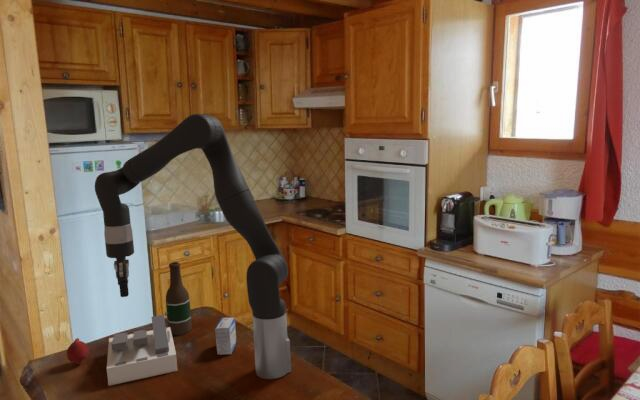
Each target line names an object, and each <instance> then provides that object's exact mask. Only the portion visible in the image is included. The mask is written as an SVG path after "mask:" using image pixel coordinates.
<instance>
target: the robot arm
mask: <svg viewBox="0 0 640 400" xmlns="http://www.w3.org/2000/svg"><path fill="white" fill-rule="evenodd" d="M196 149H197V150H198V149H199V150H200V149H201V150H202V152H203V154H204V155H205V157H206V159H207V161H208V163H209V166H210V168H211V171H212V172H211V173H212V177H213V179H212V180H213V190H214V195H215V199H216V201H217V203H218V206H219V208H220V210H221V212H222V214H223V216H224V218H225V220H226V221H227V223H229V225H230V226H231V227H232V228H233V229H234V230H235V231H236V232H237V233H238V234H239V235H240V236H241V237H242V238H243V239H244V240H245V241H246V242H247V244H248V246H249V247H250V250H251V251H252V254H253V257H254V261H252V262H251V263H250V264H249V266H248V267H247V269H246V288H247V298H248V299H247V300H248V304H249V306H250V308H251V313H252V328H253V345H254V347H253V348H254V363H255V364H254V365H255V374H256V375H257V377H259V378H260V379H264V380H276V379H280V378H282V377H284V376H285V375H287V374H289V373H292V361H291V341H290V339H289V337H288V325H287V323H288V322H287V305H286V302H285V300H284V299H282V298H280V297H281V295H280V287H279V286H280V285H281V284H282V283H284V282H285V281H286V279H287V277H288V274H289V266H288V263H287V260H286V258H285V257H284V255H283V253H282V251H281V250H280V248H279V247H278V245H277V242H275V240H274V238H273V237H272V234H271V233H270V231H269V229H268V227H267V224H266V221H265V219H264V218H263V216H262V213H261V212H260V210H259V207H258V205H257V203H256V200H255V198H254V196H253V194H252V191H251V189H250V187H249V186H248V185H249V184H247V182H246V180H245V177H244V175H243V173H242V171H241V169H240V167H239V165H238V162H237V161H236V158H235V156H234V155H233V152H232V149H231V146H230V144H229V141H228V137H227V135H226V132H225V129H224V127H223V124H222V123H221V121H220V120H219V119H218V118H217V117H215V116H213V115H209V114H203V113H192V114H190V115H188V116H187V117H185V118H184V119H183V120H182V121H181V122H180V123H179V124H177V126H175V127H174V128H173V129H172V130H171V131H170V132H169V133H167V134H166V135H165V136H164V137H162V138H161V139H160V140H159V141H156V142H155V143H154V144H152V145H151V146H149V147H147V148H146V149H144V150H142V151H141V152H139V153H138V154H136V155H134V156H132V157H130V159H128V160H126V161H125V162H124V163H123V165H122V167H120V168H119V169H117V170H113V171H105V172H102V173H100V174H98V176H96V179H95V182H94V192H95V195H96V198H97V200H98V203H99V205H100V207H101V210H102V215H103V225H104V229H103V231H104V233H103V234H104V241H105V245H104V246H105V254H106V257H107V258H110V259H115V260H114V263H113V268H114V270H115V271H114V272H115V278H116V279H117V285H118V286H119V294H120V297H121V298H126V297H129V293H130V292H129V285H128V284H129V279H128V278H130V277H129V276H130V274H129V273H130V271H129V270H130V269H129V268H130V259H126V258H127V257H131V256H132V255H133V254H134V253H135V247H134V237H133V236H134V235H133V228H132V222H131V215H130V214H131V213H130V209H129V208H130V207H129V206H128V205H127V204H126V203H122V202H121V199H120V195H124V194H126V193H128V192H130V191H131V190H133V189H134V188H136V187H137V186H138V185H139V184H140V183H141V182H144V181H145V180H147V179H149V178H152V177H153V176H154V175H156V174H157V173H159V172H161V170H162V169H164V168H166V166H167V165H169V163H170V162H171V161H172V160H174V159H175V158H176V157H178V156H181V155H182V154H184V153H187V152H189V151H193V150H196Z"/></svg>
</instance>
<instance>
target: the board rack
mask: <svg viewBox="0 0 640 400" xmlns="http://www.w3.org/2000/svg"><path fill="white" fill-rule="evenodd" d="M146 332H147V343H146V344H140V345H135V346H134V343H133V336H134V333H131V334H130V333H129V334H127V336H128V339H127V347H126V348H123V349H117V350H112V341H113V338H114V336H113V337H109V338H108V348H107V357H106V359H107V361H106V374H107V375H106V376H107V385H108V387H109V386H114V385H118V384H122V383H127V382H132V381H137V380H141V379H146V378H150V377H156V376H159V375H163V374H169V373H173V372H178V369H179V368H178V360H177V353H176V348H175V344H174V343H175V342H174V338H173V335H172V333H171V329H170V327H168V326H166V332H167V339H168V345H169V351H168V352H164V353H159V354H156V351H155V342H154V334H153V329H151V330H146Z"/></svg>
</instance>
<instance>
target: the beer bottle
mask: <svg viewBox="0 0 640 400" xmlns="http://www.w3.org/2000/svg"><path fill="white" fill-rule="evenodd" d="M181 266H182V265H181V263H180V262H179V261H173V262H170V263H169V264H168V267H169V280H170V281H169V287H168V289H167V291H166V294H165V308H166V319H167V327H170V329H171V333H172V336H183V335H186V334H188V333H189V332H191V331H192V327H193V326H192V314H191V301H190V295H189V292H188V290H187V289H186V287H185V286H184V284H183V281H182V273H181Z"/></svg>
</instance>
